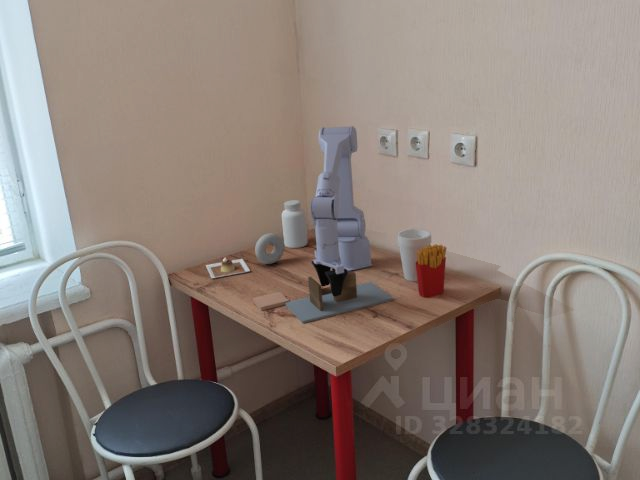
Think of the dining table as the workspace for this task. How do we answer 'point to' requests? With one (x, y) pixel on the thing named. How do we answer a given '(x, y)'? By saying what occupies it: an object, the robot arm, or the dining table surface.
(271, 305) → the tile
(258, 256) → the donut
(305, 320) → the mat
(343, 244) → the robot arm
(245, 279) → the dining table surface
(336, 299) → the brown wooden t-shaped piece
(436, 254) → the french fries
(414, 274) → the foam cup
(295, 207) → the pill bottle
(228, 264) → the white frame and cone
